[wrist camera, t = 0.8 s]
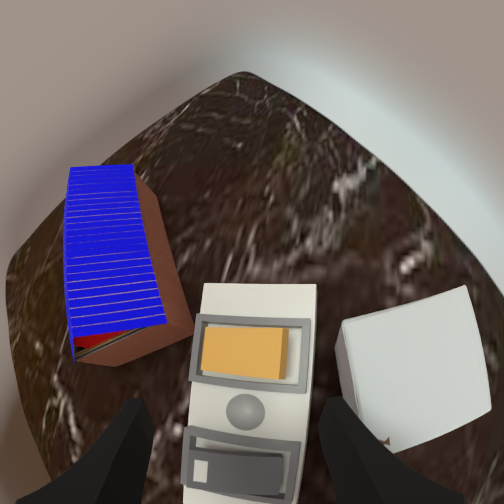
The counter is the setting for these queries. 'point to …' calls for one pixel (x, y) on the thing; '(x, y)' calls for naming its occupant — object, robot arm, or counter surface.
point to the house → (118, 269)
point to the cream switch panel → (254, 387)
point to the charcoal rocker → (234, 471)
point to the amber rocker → (246, 351)
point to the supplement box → (414, 369)
